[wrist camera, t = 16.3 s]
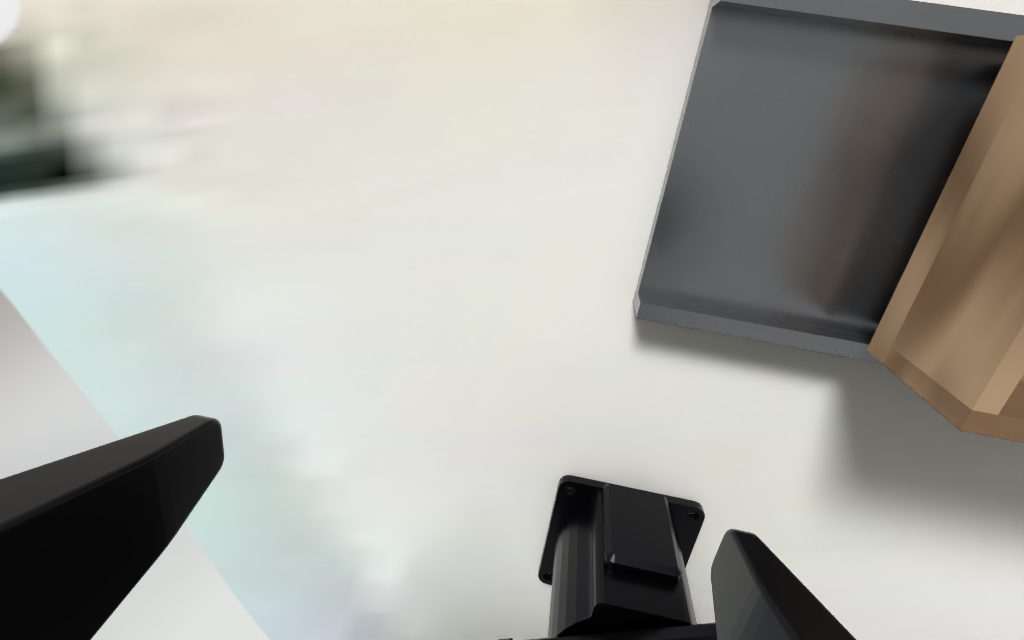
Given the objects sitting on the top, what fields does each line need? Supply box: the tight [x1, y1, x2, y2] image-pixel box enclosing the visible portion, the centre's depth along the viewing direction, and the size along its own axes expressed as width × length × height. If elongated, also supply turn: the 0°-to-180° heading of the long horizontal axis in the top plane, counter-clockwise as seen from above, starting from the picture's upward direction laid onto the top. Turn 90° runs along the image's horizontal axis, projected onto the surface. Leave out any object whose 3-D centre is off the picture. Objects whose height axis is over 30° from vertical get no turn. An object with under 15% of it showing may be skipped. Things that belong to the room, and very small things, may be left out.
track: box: [633, 0, 1024, 363], centre depth 16 cm, size 10×21×2 cm, turn 81°
